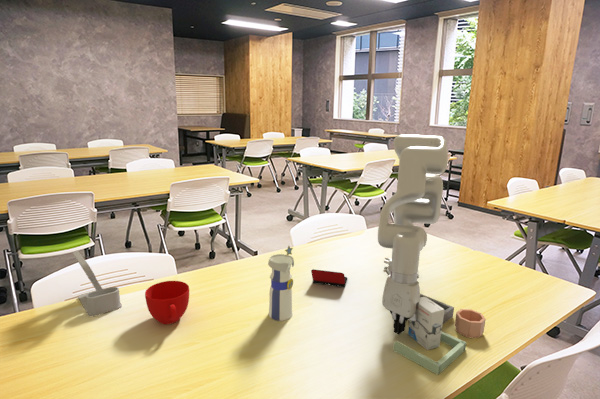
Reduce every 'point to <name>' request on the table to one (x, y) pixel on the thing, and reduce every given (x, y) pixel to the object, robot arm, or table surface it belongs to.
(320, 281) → the handheld game console
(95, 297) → the grey hollow angled piece
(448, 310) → the tray
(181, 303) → the ceramic cup
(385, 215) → the robot arm
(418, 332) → the ink box
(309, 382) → the table surface
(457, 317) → the cup
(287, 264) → the water bottle
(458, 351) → the pale green horseshoe bracket
